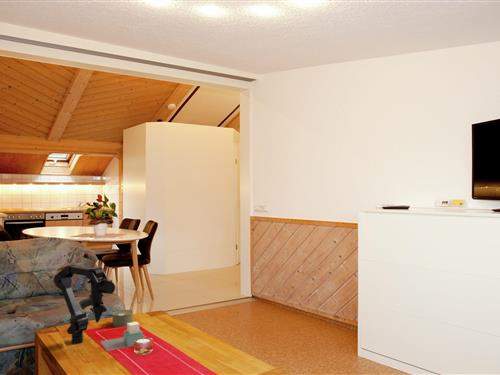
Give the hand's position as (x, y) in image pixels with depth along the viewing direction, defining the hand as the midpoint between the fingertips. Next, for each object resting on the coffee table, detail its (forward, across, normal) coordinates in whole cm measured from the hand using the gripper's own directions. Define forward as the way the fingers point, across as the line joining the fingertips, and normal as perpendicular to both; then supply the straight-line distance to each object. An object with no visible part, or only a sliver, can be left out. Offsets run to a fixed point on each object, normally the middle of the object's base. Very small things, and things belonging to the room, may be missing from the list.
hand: (97, 322), depth 229 cm
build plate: (+13, +2, +12) cm, 18 cm away
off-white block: (+7, +6, +17) cm, 19 cm away
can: (+13, -33, +21) cm, 41 cm away
